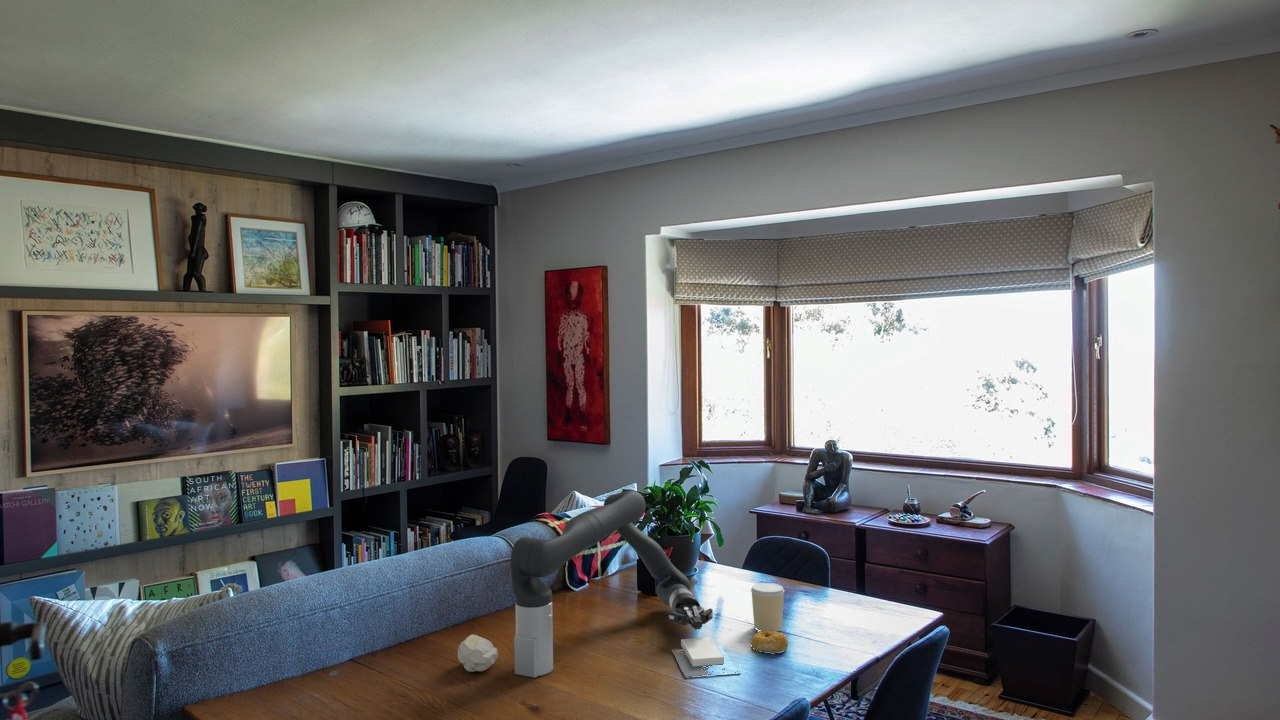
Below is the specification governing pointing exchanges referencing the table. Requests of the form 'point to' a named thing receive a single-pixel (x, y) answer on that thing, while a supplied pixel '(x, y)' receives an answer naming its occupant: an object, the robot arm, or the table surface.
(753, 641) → the bagel
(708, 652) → the tile
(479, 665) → the white rock
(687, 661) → the mat
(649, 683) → the table surface
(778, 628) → the coffee cup
